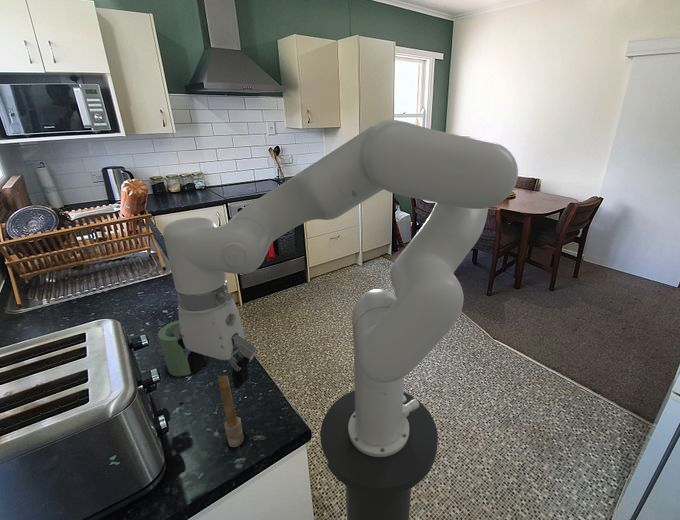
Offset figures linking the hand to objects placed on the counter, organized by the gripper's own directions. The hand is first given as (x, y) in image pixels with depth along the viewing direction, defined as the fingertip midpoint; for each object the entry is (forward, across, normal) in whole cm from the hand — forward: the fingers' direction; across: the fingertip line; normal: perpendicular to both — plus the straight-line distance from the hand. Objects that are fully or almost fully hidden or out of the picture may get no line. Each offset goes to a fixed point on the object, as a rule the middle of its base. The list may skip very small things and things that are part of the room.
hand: (219, 376), depth 63 cm
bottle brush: (+17, -1, 0) cm, 17 cm away
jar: (+17, +27, -14) cm, 35 cm away
